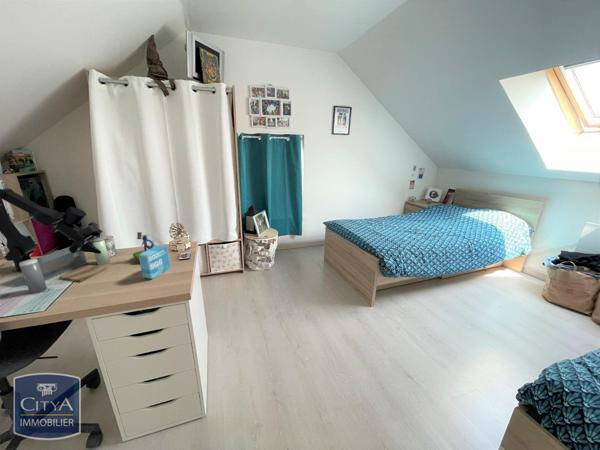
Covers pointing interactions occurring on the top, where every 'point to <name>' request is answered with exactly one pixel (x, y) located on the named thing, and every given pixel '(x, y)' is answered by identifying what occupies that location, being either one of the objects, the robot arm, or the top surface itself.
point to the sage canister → (101, 246)
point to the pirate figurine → (144, 238)
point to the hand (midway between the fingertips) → (103, 250)
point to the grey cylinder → (33, 276)
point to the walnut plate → (82, 273)
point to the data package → (154, 262)
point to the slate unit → (60, 262)
